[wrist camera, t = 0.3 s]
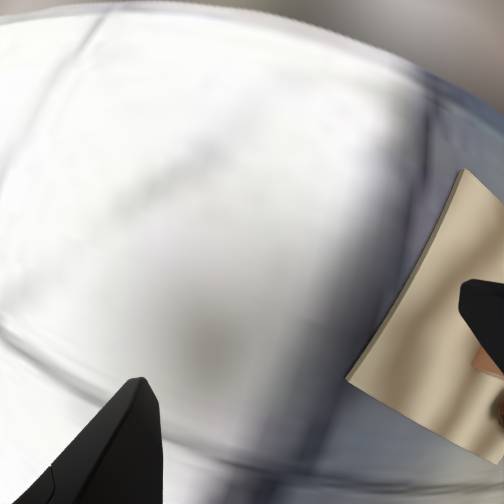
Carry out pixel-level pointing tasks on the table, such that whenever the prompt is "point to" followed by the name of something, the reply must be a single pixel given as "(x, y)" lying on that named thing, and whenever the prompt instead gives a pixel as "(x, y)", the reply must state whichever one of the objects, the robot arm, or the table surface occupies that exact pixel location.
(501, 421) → the meat cleaver
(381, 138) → the table surface
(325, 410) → the table surface
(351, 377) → the board
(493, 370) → the tile
